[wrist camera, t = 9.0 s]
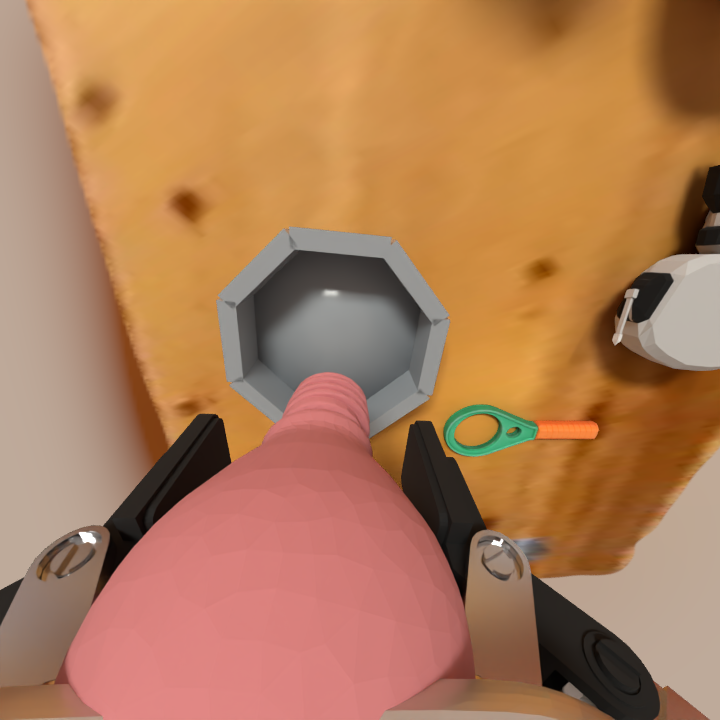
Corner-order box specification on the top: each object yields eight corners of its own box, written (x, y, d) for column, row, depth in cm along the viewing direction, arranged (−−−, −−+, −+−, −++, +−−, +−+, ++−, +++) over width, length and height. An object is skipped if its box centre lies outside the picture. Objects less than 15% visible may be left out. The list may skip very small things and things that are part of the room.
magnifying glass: (439, 449, 30) (443, 460, 28) (445, 402, 27) (451, 413, 26) (575, 445, 30) (587, 457, 28) (594, 399, 27) (609, 409, 26)
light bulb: (259, 455, 15) (-5, 1108, 4) (240, 329, 11) (-1542, 1918, 1) (391, 456, 15) (499, 1059, 4) (406, 334, 12) (1013, 1466, 1)
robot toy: (682, 135, 19) (570, 336, 24) (779, 99, 15) (618, 353, 20) (812, 190, 20) (681, 368, 25) (933, 173, 16) (748, 390, 21)
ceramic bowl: (460, 341, 24) (483, 363, 20) (331, 432, 28) (327, 466, 24) (346, 181, 19) (344, 166, 15) (206, 320, 22) (173, 340, 18)
